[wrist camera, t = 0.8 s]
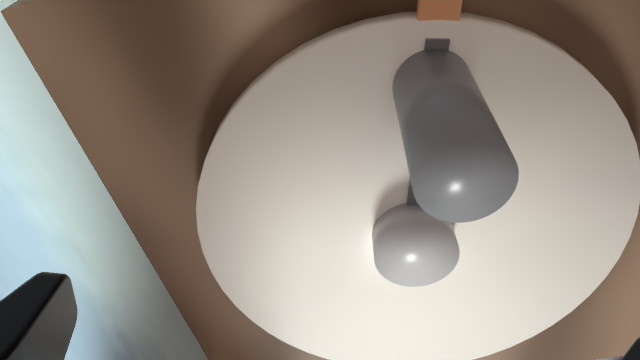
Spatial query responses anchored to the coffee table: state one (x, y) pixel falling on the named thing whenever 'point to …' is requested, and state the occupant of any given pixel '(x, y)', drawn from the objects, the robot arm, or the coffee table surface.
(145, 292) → the coffee table surface
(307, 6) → the stand plate
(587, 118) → the dial
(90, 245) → the coffee table surface
